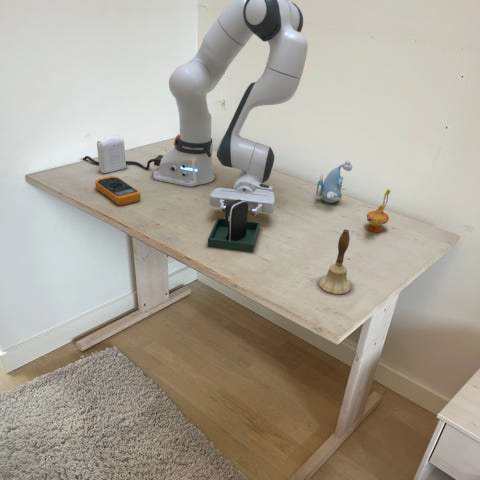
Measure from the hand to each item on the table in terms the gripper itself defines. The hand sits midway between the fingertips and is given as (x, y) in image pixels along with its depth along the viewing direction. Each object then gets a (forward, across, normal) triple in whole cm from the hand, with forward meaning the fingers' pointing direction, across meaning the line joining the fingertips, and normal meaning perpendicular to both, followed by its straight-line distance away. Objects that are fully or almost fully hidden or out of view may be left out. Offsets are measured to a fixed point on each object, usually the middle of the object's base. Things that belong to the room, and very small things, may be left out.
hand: (238, 211), depth 147 cm
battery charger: (+4, 0, +7) cm, 8 cm away
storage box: (+4, 0, +7) cm, 8 cm away
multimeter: (-16, -44, +7) cm, 47 cm away
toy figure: (-30, +28, +7) cm, 42 cm away
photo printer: (-37, -53, +7) cm, 65 cm away
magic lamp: (-12, +42, +7) cm, 44 cm away
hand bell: (+24, +30, +7) cm, 39 cm away
